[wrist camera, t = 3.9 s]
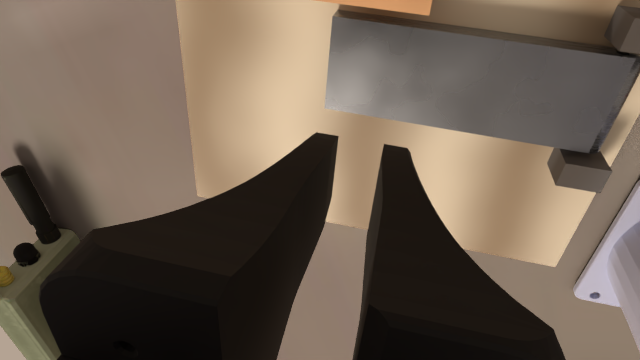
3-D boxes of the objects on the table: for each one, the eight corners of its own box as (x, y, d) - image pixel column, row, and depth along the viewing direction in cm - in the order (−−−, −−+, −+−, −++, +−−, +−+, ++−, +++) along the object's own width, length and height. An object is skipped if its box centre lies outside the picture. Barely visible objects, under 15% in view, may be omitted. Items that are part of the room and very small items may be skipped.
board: (759, -197, 13) (865, -219, 10) (545, 233, 23) (563, 292, 20) (184, -234, 15) (117, -261, 12) (215, 171, 25) (183, 214, 22)
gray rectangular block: (641, 51, 15) (652, 61, 14) (595, 142, 17) (602, 156, 16) (338, 9, 16) (332, 16, 16) (329, 98, 19) (324, 108, 18)
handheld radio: (132, 381, 42) (3, 157, 29) (164, 384, 42) (47, 157, 28) (92, 455, 37) (-92, 223, 23) (127, 460, 36) (-41, 225, 23)
